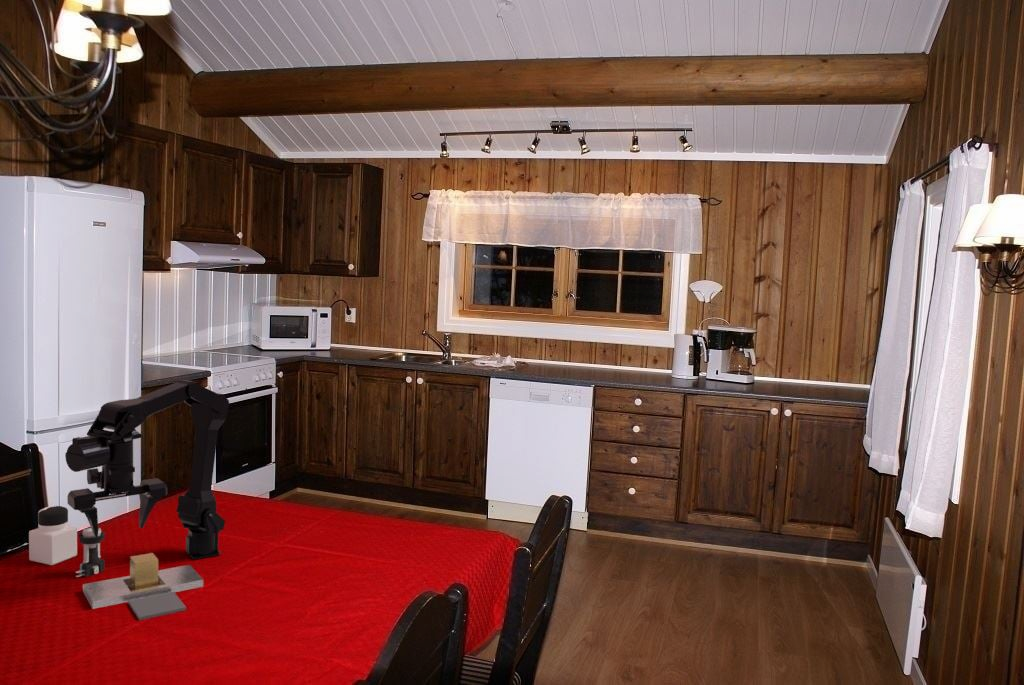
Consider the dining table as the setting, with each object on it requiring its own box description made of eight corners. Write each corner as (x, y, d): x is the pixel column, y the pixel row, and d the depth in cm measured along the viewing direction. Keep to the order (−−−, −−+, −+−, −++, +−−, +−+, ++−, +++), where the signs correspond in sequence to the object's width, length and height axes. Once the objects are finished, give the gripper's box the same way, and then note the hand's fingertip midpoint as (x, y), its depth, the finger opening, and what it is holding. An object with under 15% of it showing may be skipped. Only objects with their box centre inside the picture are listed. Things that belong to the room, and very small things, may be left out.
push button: (84, 581, 178) (84, 537, 177) (67, 576, 180) (67, 533, 179) (110, 571, 184) (110, 528, 183) (93, 566, 186) (93, 524, 185)
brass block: (152, 583, 179) (152, 552, 178) (158, 590, 175) (158, 559, 175) (129, 587, 176) (130, 556, 175) (135, 595, 173) (135, 563, 172)
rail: (189, 571, 186) (189, 564, 186) (203, 586, 179) (203, 579, 178) (82, 591, 173) (82, 584, 173) (92, 608, 165) (92, 601, 165)
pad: (173, 594, 174) (173, 591, 174) (186, 610, 167) (186, 607, 167) (128, 603, 168) (128, 600, 168) (139, 620, 161) (139, 617, 161)
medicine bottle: (77, 555, 192) (77, 506, 191) (51, 565, 186) (51, 514, 184) (54, 550, 195) (54, 502, 193) (28, 560, 188) (28, 510, 187)
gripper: (150, 448, 186) (150, 514, 188) (59, 459, 173) (60, 530, 175) (168, 458, 178) (168, 527, 179) (74, 471, 165) (75, 545, 167)
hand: (118, 531), depth 175 cm, fingers open, 9 cm apart
